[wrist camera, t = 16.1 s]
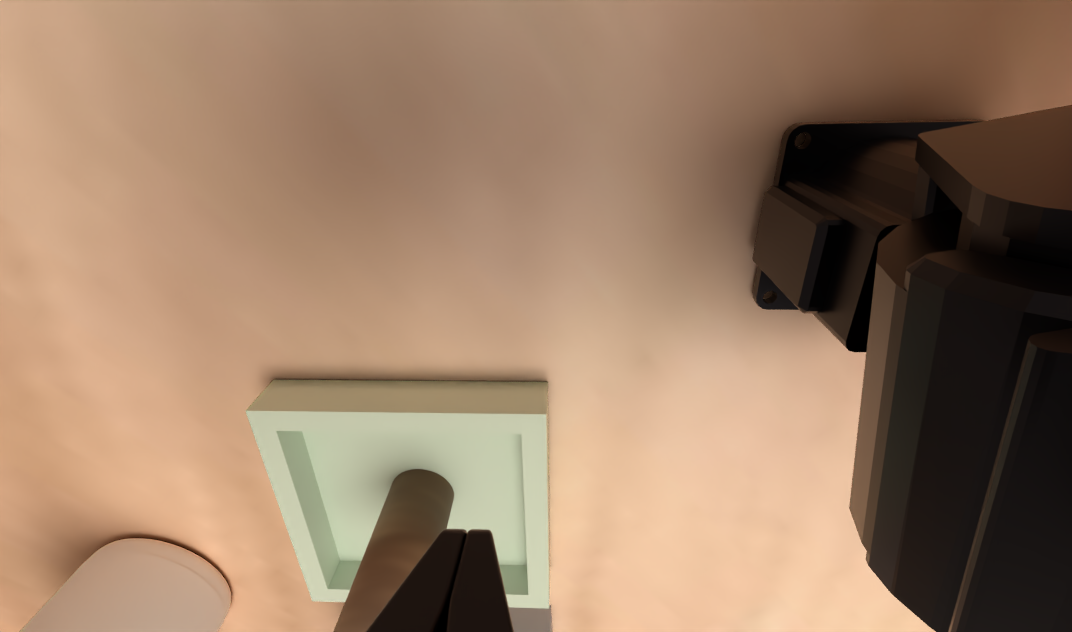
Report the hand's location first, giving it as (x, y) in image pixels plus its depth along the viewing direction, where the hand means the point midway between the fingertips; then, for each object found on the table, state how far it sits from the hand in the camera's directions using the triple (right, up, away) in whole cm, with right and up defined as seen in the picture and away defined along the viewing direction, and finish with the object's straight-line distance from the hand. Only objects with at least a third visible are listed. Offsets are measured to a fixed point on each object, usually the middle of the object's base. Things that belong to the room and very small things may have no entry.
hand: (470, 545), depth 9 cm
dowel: (-4, -5, +15) cm, 17 cm away
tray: (-4, -4, +16) cm, 17 cm away
